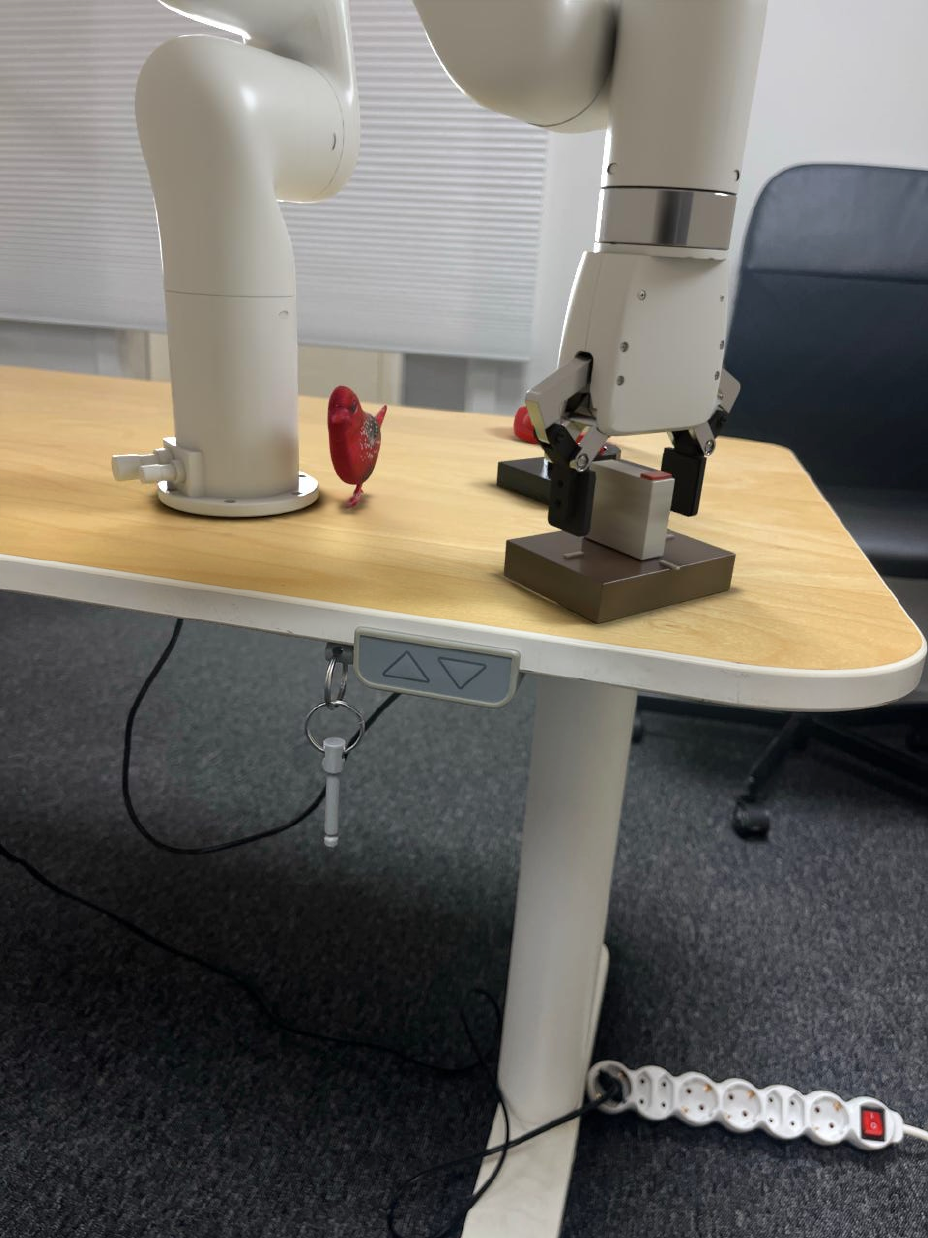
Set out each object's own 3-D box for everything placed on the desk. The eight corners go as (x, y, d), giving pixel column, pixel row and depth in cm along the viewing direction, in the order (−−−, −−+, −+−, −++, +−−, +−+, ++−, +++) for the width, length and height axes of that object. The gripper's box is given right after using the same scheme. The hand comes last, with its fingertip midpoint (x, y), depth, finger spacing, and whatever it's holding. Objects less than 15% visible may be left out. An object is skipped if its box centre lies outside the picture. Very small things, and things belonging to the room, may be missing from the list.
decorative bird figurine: (314, 525, 66) (312, 388, 62) (369, 471, 82) (371, 360, 78) (351, 529, 66) (352, 391, 62) (400, 474, 82) (403, 362, 78)
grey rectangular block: (581, 536, 59) (590, 458, 57) (603, 532, 60) (612, 455, 58) (641, 560, 55) (653, 477, 53) (663, 556, 56) (676, 474, 54)
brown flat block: (601, 626, 52) (607, 583, 51) (499, 574, 59) (502, 535, 58) (734, 591, 58) (741, 552, 57) (628, 548, 65) (633, 513, 64)
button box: (561, 511, 74) (566, 463, 72) (495, 485, 80) (498, 441, 79) (661, 495, 80) (667, 451, 79) (592, 472, 87) (597, 431, 85)
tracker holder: (526, 436, 96) (498, 398, 103) (529, 472, 98) (501, 432, 106) (631, 411, 97) (595, 376, 105) (630, 447, 100) (595, 410, 108)
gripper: (711, 235, 58) (672, 491, 64) (501, 218, 48) (481, 521, 55) (811, 239, 52) (757, 519, 59) (597, 220, 43) (561, 557, 49)
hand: (624, 520), depth 57 cm, fingers open, 9 cm apart
